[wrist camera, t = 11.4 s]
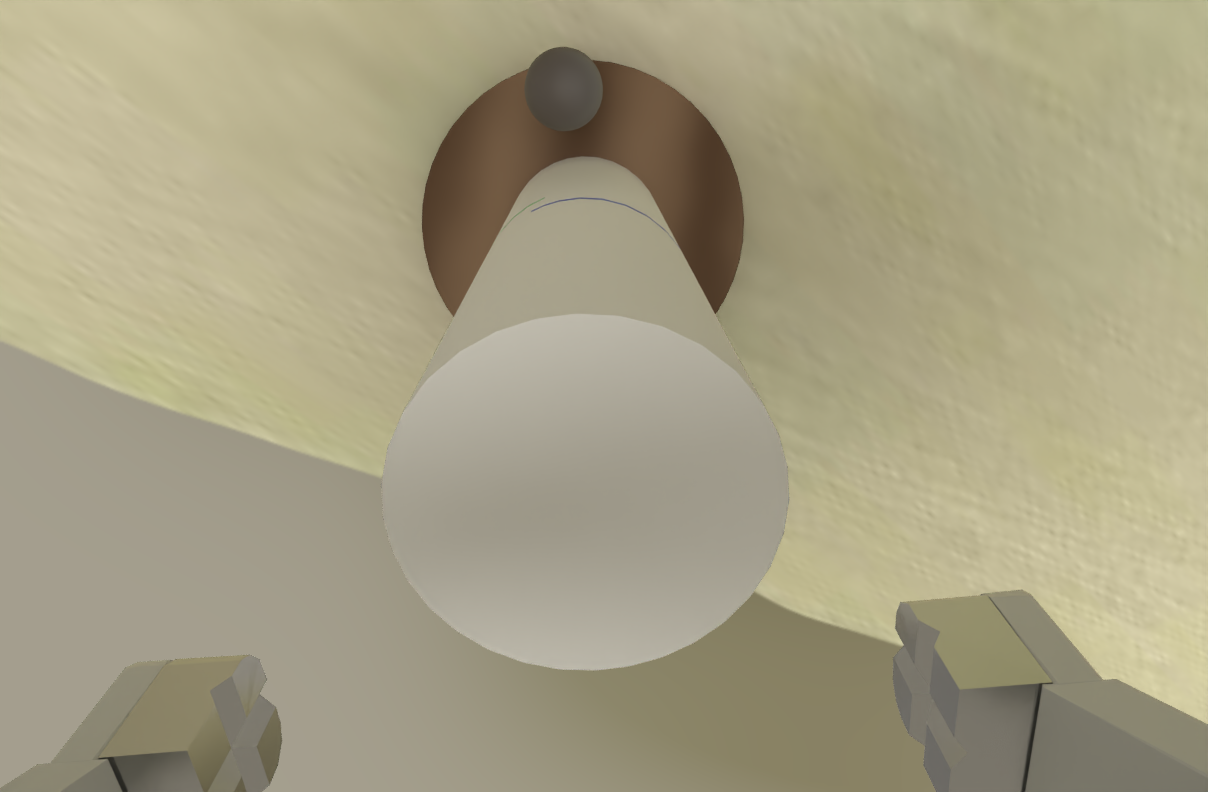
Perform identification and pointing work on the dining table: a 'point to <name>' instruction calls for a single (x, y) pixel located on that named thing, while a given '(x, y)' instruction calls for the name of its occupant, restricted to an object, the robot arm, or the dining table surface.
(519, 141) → the roll holder
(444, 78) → the dining table surface
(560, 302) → the cylindrical container
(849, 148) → the dining table surface
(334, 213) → the dining table surface
